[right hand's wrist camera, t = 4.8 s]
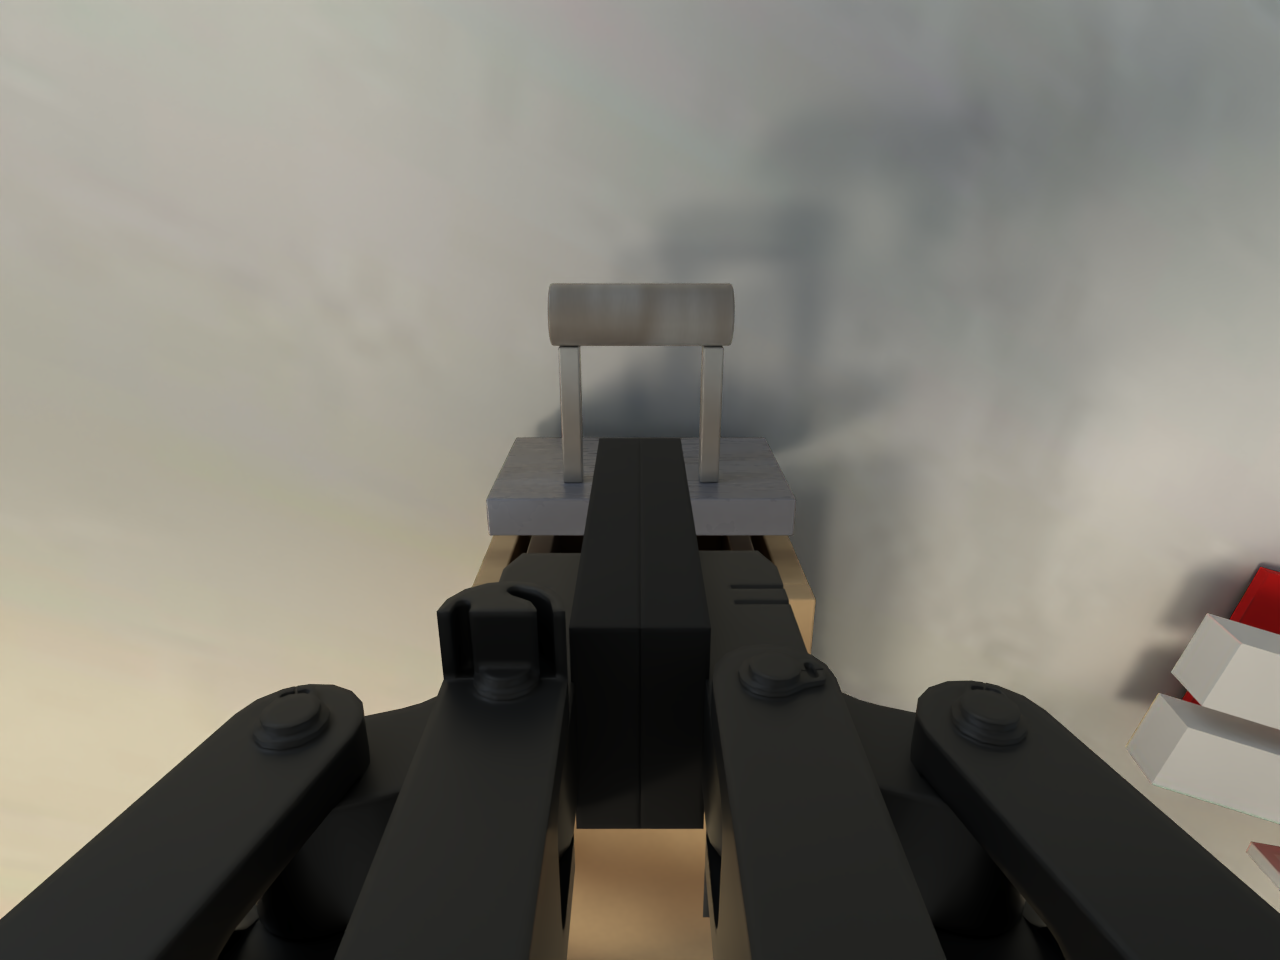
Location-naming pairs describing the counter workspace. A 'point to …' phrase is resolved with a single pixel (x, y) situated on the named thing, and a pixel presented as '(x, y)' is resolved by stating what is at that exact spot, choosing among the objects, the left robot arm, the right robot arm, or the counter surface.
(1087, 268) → the counter surface
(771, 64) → the counter surface
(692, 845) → the wooden block
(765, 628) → the right robot arm
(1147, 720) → the toy
